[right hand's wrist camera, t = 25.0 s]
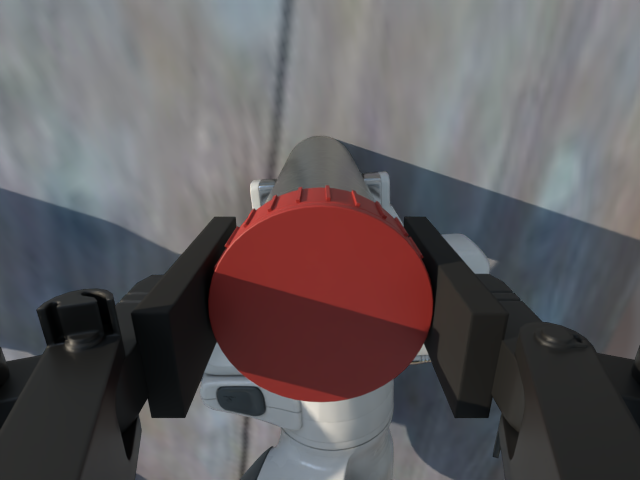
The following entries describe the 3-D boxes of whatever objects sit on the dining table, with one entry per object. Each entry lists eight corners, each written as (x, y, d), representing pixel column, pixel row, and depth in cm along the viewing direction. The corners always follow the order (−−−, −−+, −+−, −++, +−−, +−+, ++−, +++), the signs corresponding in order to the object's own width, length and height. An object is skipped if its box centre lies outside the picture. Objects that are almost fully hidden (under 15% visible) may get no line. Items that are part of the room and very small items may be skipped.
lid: (448, 213, 11) (473, 236, 9) (384, 377, 13) (394, 422, 11) (242, 161, 11) (225, 174, 9) (209, 340, 13) (190, 381, 11)
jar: (360, 141, 29) (432, 223, 10) (347, 209, 30) (389, 380, 12) (290, 130, 28) (236, 194, 10) (282, 199, 30) (223, 359, 12)
